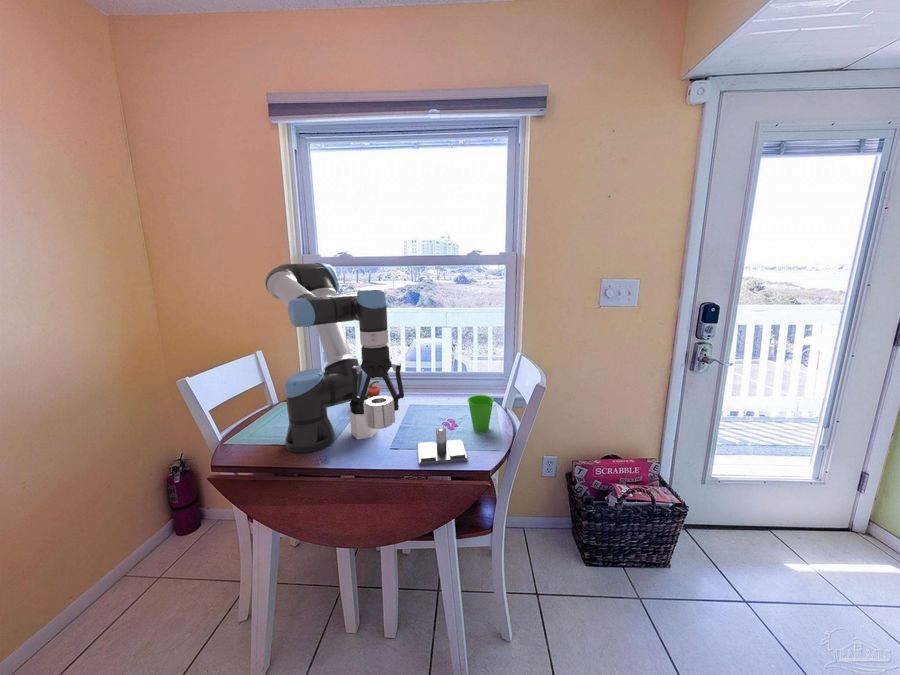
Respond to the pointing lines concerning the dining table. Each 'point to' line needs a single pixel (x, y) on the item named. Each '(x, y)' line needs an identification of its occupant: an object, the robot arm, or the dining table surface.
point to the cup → (480, 411)
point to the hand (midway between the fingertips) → (380, 421)
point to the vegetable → (373, 390)
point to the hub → (379, 412)
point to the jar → (359, 422)
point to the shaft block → (441, 450)
